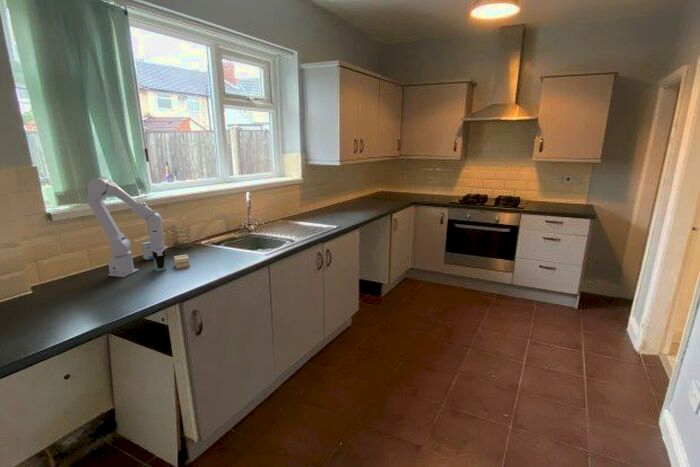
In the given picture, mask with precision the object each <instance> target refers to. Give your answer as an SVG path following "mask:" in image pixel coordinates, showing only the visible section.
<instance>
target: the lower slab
mask: <svg viewBox="0 0 700 467" xmlns="http://www.w3.org/2000/svg"><path fill="white" fill-rule="evenodd" d="M174 265H175V264H174ZM190 267H191V263H190V261H189V263H184V264H177V265H175V268H176V269H182V268H190Z"/></svg>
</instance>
